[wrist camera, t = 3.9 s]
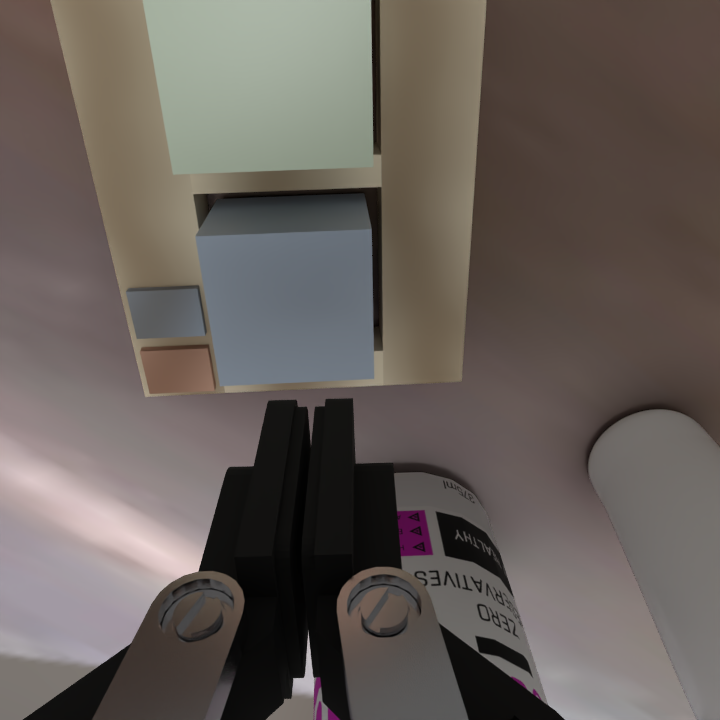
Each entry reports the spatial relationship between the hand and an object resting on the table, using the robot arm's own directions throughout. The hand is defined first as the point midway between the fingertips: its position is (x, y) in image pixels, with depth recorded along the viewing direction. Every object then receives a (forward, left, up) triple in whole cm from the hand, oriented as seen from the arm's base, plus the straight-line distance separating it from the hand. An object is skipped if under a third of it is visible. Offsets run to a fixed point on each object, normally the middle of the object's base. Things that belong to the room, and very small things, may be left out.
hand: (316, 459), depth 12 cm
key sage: (+1, -7, -10) cm, 12 cm away
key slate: (+1, 0, -11) cm, 11 cm away
